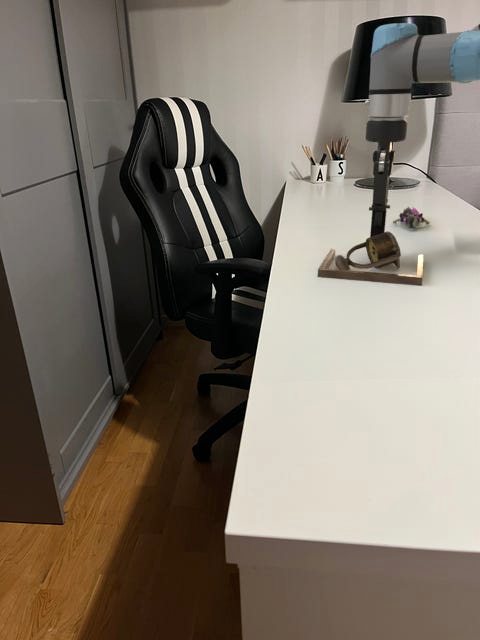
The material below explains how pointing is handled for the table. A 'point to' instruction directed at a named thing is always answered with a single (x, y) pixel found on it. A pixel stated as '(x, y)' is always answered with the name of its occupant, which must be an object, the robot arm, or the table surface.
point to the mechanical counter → (374, 253)
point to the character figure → (411, 217)
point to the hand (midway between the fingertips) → (376, 241)
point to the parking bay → (370, 273)
